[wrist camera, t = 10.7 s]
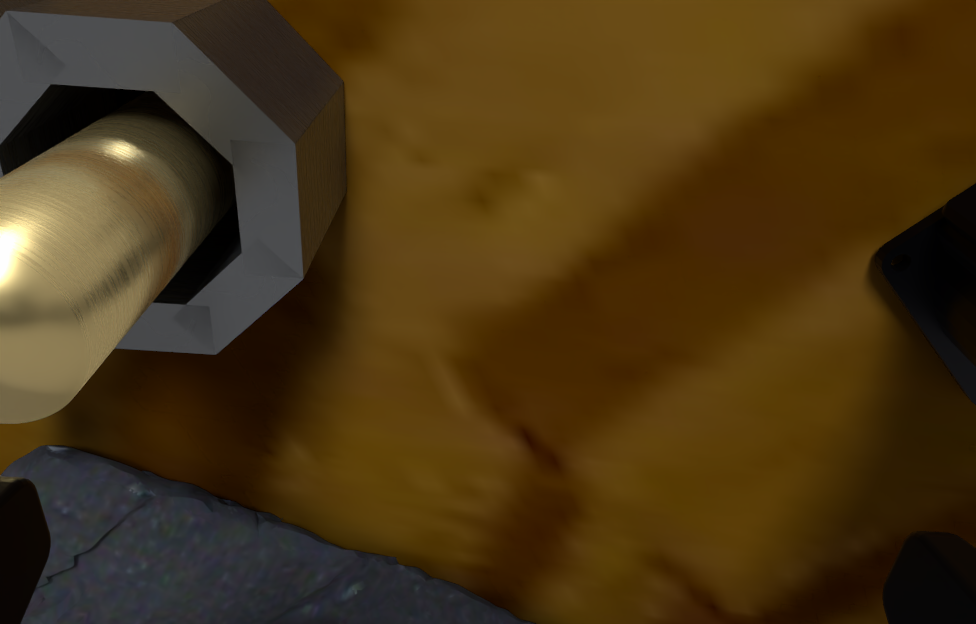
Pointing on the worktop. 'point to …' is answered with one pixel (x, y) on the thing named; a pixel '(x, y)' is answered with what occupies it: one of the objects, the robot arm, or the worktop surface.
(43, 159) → the brass pin
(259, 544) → the dark slate chunk
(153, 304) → the grey hollow finned part
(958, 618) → the robot arm
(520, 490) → the worktop surface
